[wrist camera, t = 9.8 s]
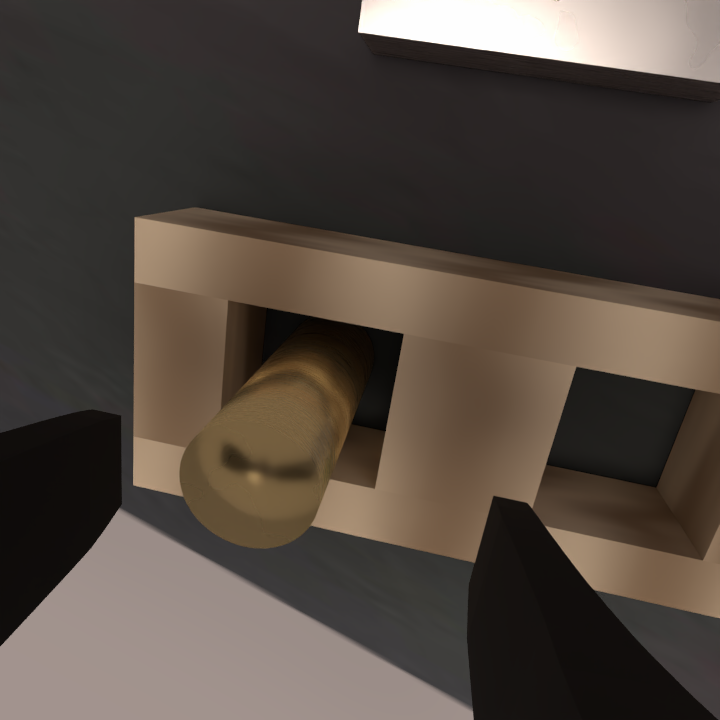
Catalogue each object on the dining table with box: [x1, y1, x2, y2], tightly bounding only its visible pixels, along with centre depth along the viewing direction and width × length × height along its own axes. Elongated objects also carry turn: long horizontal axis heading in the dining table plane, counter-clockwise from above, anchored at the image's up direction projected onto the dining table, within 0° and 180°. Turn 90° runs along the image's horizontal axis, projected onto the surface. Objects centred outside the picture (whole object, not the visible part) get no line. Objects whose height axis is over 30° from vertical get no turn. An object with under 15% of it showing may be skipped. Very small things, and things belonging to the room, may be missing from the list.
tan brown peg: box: [179, 316, 374, 548], centre depth 16 cm, size 3×3×9 cm
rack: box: [133, 207, 720, 618], centre depth 18 cm, size 21×9×4 cm, turn 82°
